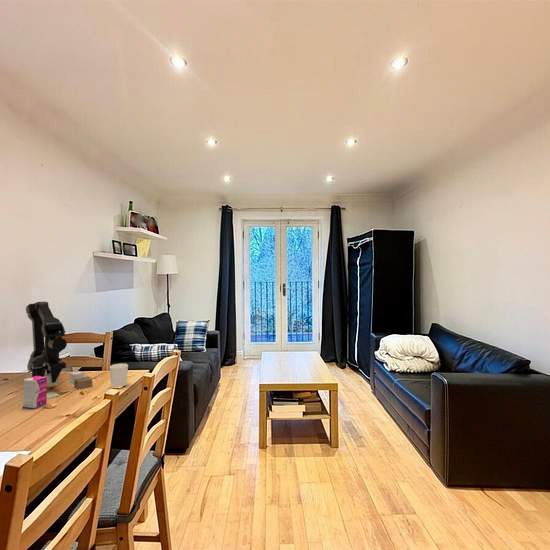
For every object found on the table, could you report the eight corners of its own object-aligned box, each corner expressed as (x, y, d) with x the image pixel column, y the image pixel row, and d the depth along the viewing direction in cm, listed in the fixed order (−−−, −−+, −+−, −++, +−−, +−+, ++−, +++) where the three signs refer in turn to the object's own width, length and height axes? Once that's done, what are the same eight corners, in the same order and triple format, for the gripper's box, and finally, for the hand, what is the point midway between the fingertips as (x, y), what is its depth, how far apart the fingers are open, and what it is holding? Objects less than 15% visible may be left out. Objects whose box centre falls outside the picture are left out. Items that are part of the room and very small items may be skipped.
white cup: (131, 384, 160) (131, 364, 160) (119, 390, 153) (119, 368, 153) (118, 383, 163) (118, 363, 163) (105, 388, 155) (105, 367, 155)
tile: (36, 396, 144) (36, 395, 144) (54, 392, 150) (54, 391, 150) (41, 400, 140) (41, 399, 140) (59, 395, 145) (59, 395, 145)
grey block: (69, 382, 164) (69, 373, 164) (78, 380, 168) (78, 371, 168) (75, 383, 162) (75, 374, 162) (84, 381, 167) (84, 372, 167)
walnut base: (74, 387, 157) (74, 378, 158) (88, 384, 162) (88, 376, 162) (78, 390, 153) (78, 381, 153) (92, 387, 158) (92, 378, 158)
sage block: (44, 384, 153) (44, 374, 153) (55, 381, 157) (55, 372, 157) (47, 386, 150) (47, 376, 150) (59, 383, 154) (59, 374, 154)
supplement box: (34, 409, 130) (34, 380, 130) (22, 408, 131) (22, 379, 132) (47, 404, 136) (47, 376, 136) (35, 403, 137) (35, 375, 137)
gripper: (25, 348, 154) (25, 381, 153) (37, 354, 142) (37, 390, 141) (53, 344, 162) (52, 376, 162) (66, 349, 150) (66, 384, 150)
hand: (51, 381), depth 154 cm, fingers closed on sage block, 4 cm apart
